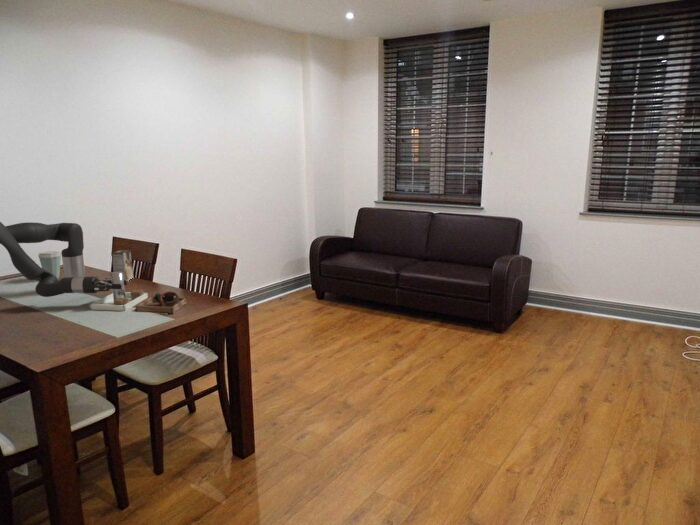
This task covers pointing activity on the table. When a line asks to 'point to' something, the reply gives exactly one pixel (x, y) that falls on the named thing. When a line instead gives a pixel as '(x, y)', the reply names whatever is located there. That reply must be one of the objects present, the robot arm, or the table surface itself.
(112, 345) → the table surface
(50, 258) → the disposable coffee cup
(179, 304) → the brown wooden tray
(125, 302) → the walnut block
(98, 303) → the tray
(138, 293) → the walnut block
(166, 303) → the pottery mug
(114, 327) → the table surface
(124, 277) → the coffee box
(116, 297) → the part cylinder
